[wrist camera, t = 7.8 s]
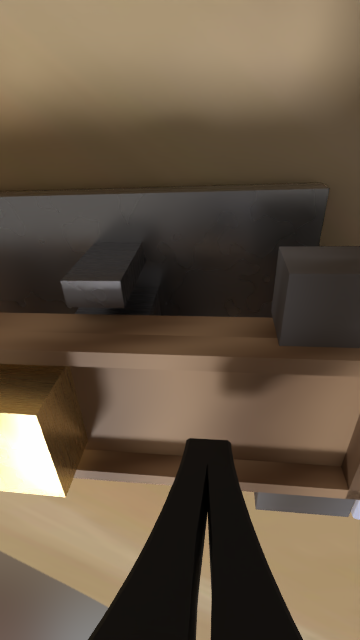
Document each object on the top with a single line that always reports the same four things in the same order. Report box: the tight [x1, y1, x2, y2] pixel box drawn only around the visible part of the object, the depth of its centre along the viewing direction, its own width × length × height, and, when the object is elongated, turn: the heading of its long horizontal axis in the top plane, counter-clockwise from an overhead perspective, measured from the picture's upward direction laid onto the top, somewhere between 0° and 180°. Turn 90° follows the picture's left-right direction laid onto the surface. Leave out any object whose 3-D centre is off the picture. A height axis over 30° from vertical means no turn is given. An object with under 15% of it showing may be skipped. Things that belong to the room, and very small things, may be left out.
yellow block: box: [0, 364, 88, 497], centre depth 12 cm, size 5×4×2 cm
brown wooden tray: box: [0, 246, 360, 517], centre depth 13 cm, size 20×12×3 cm, turn 93°
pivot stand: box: [0, 183, 329, 318], centre depth 15 cm, size 16×14×5 cm
